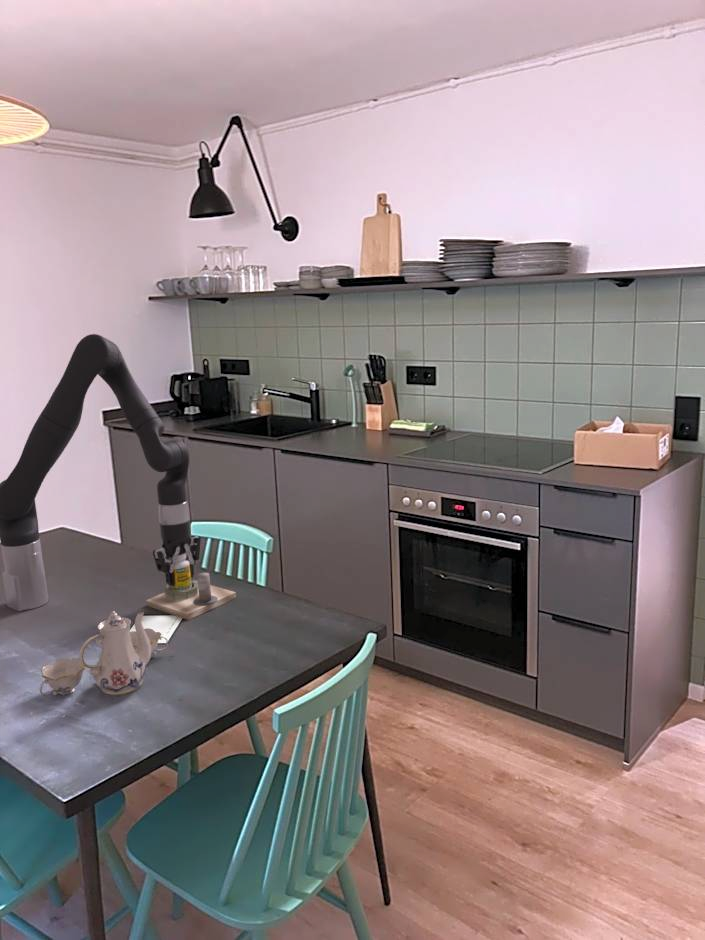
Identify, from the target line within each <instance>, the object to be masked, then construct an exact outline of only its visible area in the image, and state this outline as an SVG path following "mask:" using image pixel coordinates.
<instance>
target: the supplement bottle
mask: <svg viewBox="0 0 705 940" xmlns="http://www.w3.org/2000/svg"><path fill="white" fill-rule="evenodd" d="M170 560H172V558H170ZM169 565H170V564H169ZM173 572H174V576H175V586H171V590H172V591H186V590H188V589H190V588H191V587H192V583H191V581H192V578H191V573H190V563H189V561H188V560H187V559H186V553H183V554H181V555H178V558H177V562H176V564H175V565H174V570H173Z"/></svg>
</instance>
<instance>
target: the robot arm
mask: <svg viewBox="0 0 705 940" xmlns="http://www.w3.org/2000/svg"><path fill="white" fill-rule="evenodd" d="M97 376H99V377H100V378H101V379H102V380H103V381H104V382H105V383H106V384H107V385H108V386H109V388H110V389H111V391H112V393H113V394H114V395H115V397H116V399H117V402H118V404H119V407H120V409H121V412H122V414H123V416H124V418H125V420H126V421H127V423H128V424H129V426H130V428H131V429H132V431H133V432H134V433H135V435H136V436H137V437H138V440H139V443H140V446H141V450H142V452H143V455H144V458H145V460H146V462H147V464H148V465H149V467H150V468H151V469H153V470H154V471H155V472H159V473H165V475H164V476H163V478H161V479H160V480H159V481H158V483H157V484H156V491H157V493H156V494H157V501H158V520H159V521H158V523H159V532H160V538H161V540H162V544H161V547H159V548H158V549H154V550H153V551H152V555H153V558H154V563H155V565H156V570H157V571H158V572H162V573H164V575H165V582H166V585H170V586H175V576H174V572H173V570H174V565H175V564H176V562H177V558H178V555H181V554H183V553H186V559H187V560H188V561H189V563H190V573H191V579H193V578H194V576H195V568H194V565H195V562H196V561H199V560H200V556H201V555H200V554H201V553H200V552H201V538H200V537H197V536H191V534H192V529H191V528H192V527H191V518H190V509H189V508H190V507H189V504H188V498H187V488H186V483H187V479H188V473H189V467H190V466H189V465H190V453H189V450H188V446H187V445H186V444H185V442H183V441H182V440H179V439H171V440H168V441H167V440H166V441H164V442H162V440H161V439H160V437H161V435H162V434H163V433H164V431H165V424H164V422H163V421H162V420H161V418H160V417H159V416H160V415H158V414H157V411H156V410H155V409H154V407H153V406H152V405H151V403H150V402H149V401H148V399H147V398H146V396H145V395H144V393H143V392H142V391H141V388H140V387H139V385H138V384H137V382H136V381H135V378H134V377H133V375H132V374H131V372H130V369H129V367H128V365H127V363H126V361H125V358H124V356H123V354H122V352H121V350H120V348H119V347H118V345H117V344H116V343H114V342H113V341H111V340H109V338H106V337H104V336H103V335H100V334H97V333H93V334H91V333H90V334H88V335H87V334H86V335H85V336H84V337H83V338H81V339H80V340H79V342H78V343H77V344H76V347H75V348H74V350H73V352H72V354H71V357H70V360H69V361H68V363H67V366H66V368H65V371H64V372H63V374H62V376H61V378H60V380H59V382H58V384H57V386H56V387H55V389H54V390H53V392H52V394H51V396H50V398H49V400H48V401H47V403H46V405H45V407H44V408H43V409H42V410H41V413H40V414H39V415H38V418H37V419H36V421H35V423H34V424H33V427H32V428H31V430H30V433H29V435H28V437H27V439H26V442H25V443H24V446H23V449H22V452H21V455H20V457H19V459H18V461H17V463H16V464H15V466H14V468H13V469H12V471H11V472H10V474H9V475H8V476H7V478H6V479H4V480H2V481H1V482H0V547H1V548H0V549H1V553H2V558H3V559H2V560H3V566H4V571H2V573H1V575H2V581H3V587H4V593H5V600H6V607H7V606H8V607H7V608H10V609H12V610H15V611H17V612H22V611H26V610H32V609H36V608H38V607H42V606H44V605H45V604H47V603H48V601H49V594H48V593H49V592H48V587H47V580H46V574H45V573H46V572H45V565H44V560H43V559H44V558H43V553H42V545H41V539H40V530H39V519H38V512H37V505H36V497H37V495H38V493H39V490H40V488H41V486H42V483H43V482H44V480H45V478H46V477H47V475H48V474H49V472H50V471H51V469H52V468H53V466H55V463H56V462H57V461H58V460H59V458H60V456H61V455H62V454H63V452H64V451H65V449H66V447H67V446H68V444H69V443H70V442H71V440H72V438H73V436H74V434H75V433H76V431H77V430H78V428H79V425H80V423H81V419H82V415H83V410H84V409H83V408H84V403H85V398H86V396H87V392H88V390H89V388H90V386H91V385H92V383H93V382H94V380H95V379H96V377H97ZM170 558H172V560H171V559H170ZM169 564H170V565H169Z"/></svg>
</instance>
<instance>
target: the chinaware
mask: <svg viewBox="0 0 705 940" xmlns="http://www.w3.org/2000/svg"><path fill="white" fill-rule="evenodd" d="M144 614H145V612H144V611H141V612H138V613H137V615H136V617H135V619H134V630H132V631H130V630H131V624H132V620H131V619H130V618H128V617H122V616H121V615H118V613H117V612H116V611H114V610H112V611H111V612H110V614H109V615H108V617H107V618H106V619H105V620H104V621H102V622H100V623H99V624H98V625H97V629H98V630H99V633H100V634H95V635H93V636H91V637H88V638H87V640H86V641H85V642H83V644H82V645H81V648H80V651H79V656H78V657H77V658H73V659H71V658H68V657H63V658H62V657H61V658H60V659H59V658H58V659H57V660H55V661H54V662H53V663H52V664H47V665H46V664H45V665H44V666H42V668H41V677H42V678H43V679H44V680H43V681H41V683H40V684H39V692H40V693H39V694H41V695H42V696H45V697H46V696H48V695H50V694H51V693H52V694H53V695H54V696H56V695H57V694H59V693H60V694H59V695H61V694H62V696H65V695H64V694H66V695H70V694H73V693H72V692H75V690H76V689H77V686H78V685H79V683H81V680H82V678H83V674H84V671H85V669H86V668H87V669H89V673H90V675H91V676H92V678H93V679H94V681H95V684H96V686H97V687H99V688H100V692H102V693H103V692H104V693H105V695H107V694H110V695H109V696H121V694H122V695H126V694H129V693H132V692H135V691H136V690H137V689H140V687H142V685H143V683H144V678H145V677H146V676H147V674H148V672H149V668H148V666H147V664H149V661H150V660H151V656H152V655H153V656H157V651H165V650H166V649H167V648H168V646H169V642H168V639H167V638H166V637H165V636H163V635H162V633H161V632H160V631H156V630H154V629H152V628H144V625H143V623H142V619H143V616H144ZM162 639H165V642H166V645H165V647H163V648H157V647H158V643H159V641H162ZM92 641H95V643H96V644H97V645H100V644H101V643H102V644H101V653H100V657H99V658H98V659H99V660H97V663H96V664H94V665H93V664H92V665H91V664H87V663H86V661H85V658H84V653H85V650H86V648H87V647H88V645H89V644H90V643H91V642H92ZM44 684H45V685H48V686H49V687H50V688H51V689H52V690H50V691H48V692H47V693H43V692H42V691H43V690H42V689H43V685H44ZM68 693H69V694H68ZM104 693H103V694H104Z"/></svg>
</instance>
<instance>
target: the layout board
mask: <svg viewBox="0 0 705 940" xmlns="http://www.w3.org/2000/svg"><path fill="white" fill-rule="evenodd" d="M196 578H197V579H196V580H195V579H194V580H191V583H192V587H191V588H190V589H188V590H186V591H172V590H171V586H170V585H168V584H166V585H165V589H164V592H163V593H159V594H158V595H155V596H153V597H151V598H148V599H146V606H148V607H149V608H153V609H155V610H159V611H161V612H164V613H166V614H170V615H173V616H176V617H178V618H181V619H184V620H186V621H189V620H191V619H193V618H195V617H198V616H201V615H202V614H204V613H206V612H209V611H211V610H213V609H215V608H218V607H219V606H221V605H224V604H226V603H228V602H230V601H232V600H235V599H236V598H237V593H236V591H233V590H229V589H225V588H222V587H220V586H216V585H213V584H211V579H210V578H211V577H210V573H209V572H200V573H198V574H197V575H196Z"/></svg>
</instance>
